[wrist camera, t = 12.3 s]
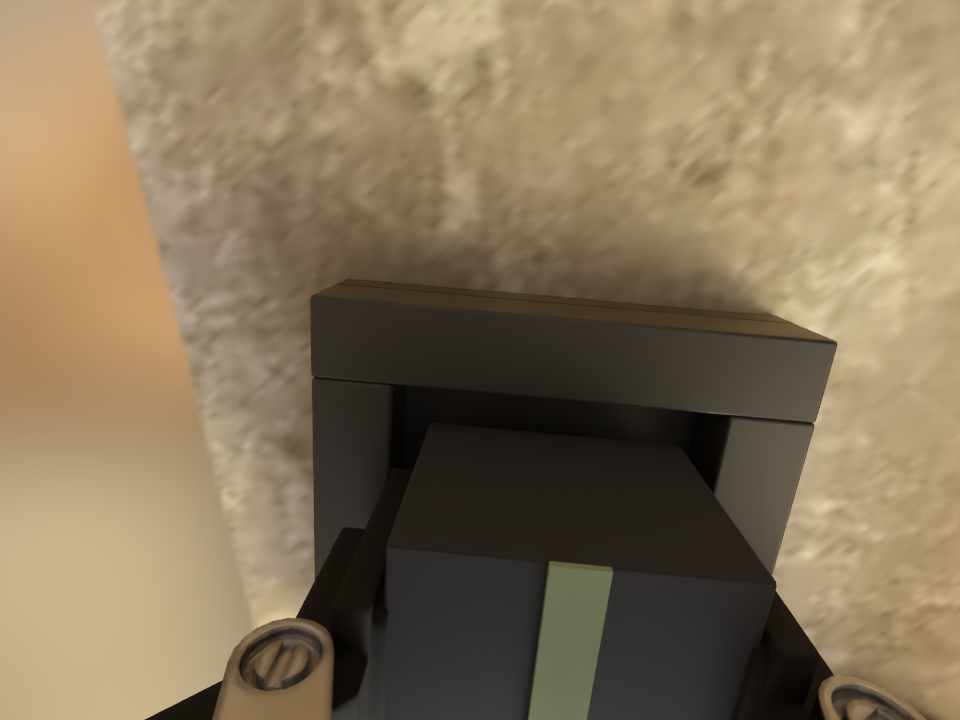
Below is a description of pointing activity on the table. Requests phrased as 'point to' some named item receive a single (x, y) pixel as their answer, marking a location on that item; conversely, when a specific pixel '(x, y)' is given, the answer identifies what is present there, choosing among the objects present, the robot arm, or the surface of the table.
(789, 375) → the socket pad
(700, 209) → the table surface
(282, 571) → the table surface
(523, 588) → the top pad
